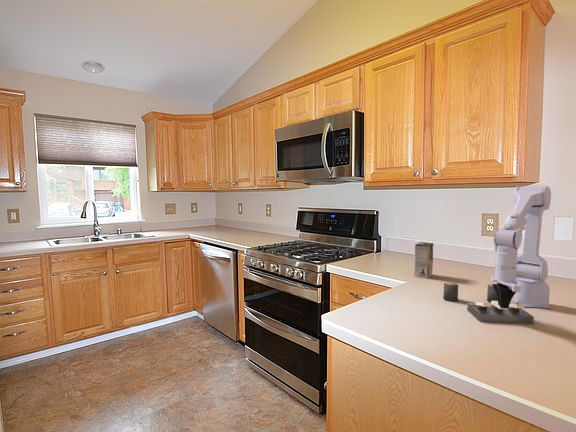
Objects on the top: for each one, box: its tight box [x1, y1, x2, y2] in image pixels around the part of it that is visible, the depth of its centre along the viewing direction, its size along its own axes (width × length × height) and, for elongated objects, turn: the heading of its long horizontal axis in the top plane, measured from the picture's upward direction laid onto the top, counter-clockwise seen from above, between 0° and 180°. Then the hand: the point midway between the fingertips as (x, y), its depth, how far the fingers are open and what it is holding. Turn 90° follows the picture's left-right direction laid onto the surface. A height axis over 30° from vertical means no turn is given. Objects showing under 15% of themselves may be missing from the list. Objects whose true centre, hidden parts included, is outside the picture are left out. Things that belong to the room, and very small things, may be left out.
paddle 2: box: [509, 303, 526, 309], centre depth 110 cm, size 6×2×1 cm, turn 172°
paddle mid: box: [491, 301, 508, 310], centre depth 110 cm, size 6×2×1 cm, turn 172°
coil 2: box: [486, 283, 498, 303], centre depth 125 cm, size 5×5×6 cm
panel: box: [466, 302, 535, 325], centre depth 110 cm, size 16×10×3 cm, turn 82°
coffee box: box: [414, 241, 434, 279], centre depth 162 cm, size 9×6×16 cm
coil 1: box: [442, 281, 459, 303], centre depth 127 cm, size 5×5×6 cm
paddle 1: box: [475, 301, 491, 307], centre depth 111 cm, size 6×2×1 cm, turn 172°
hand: (503, 307), depth 108 cm, fingers closed, pressing on paddle mid
